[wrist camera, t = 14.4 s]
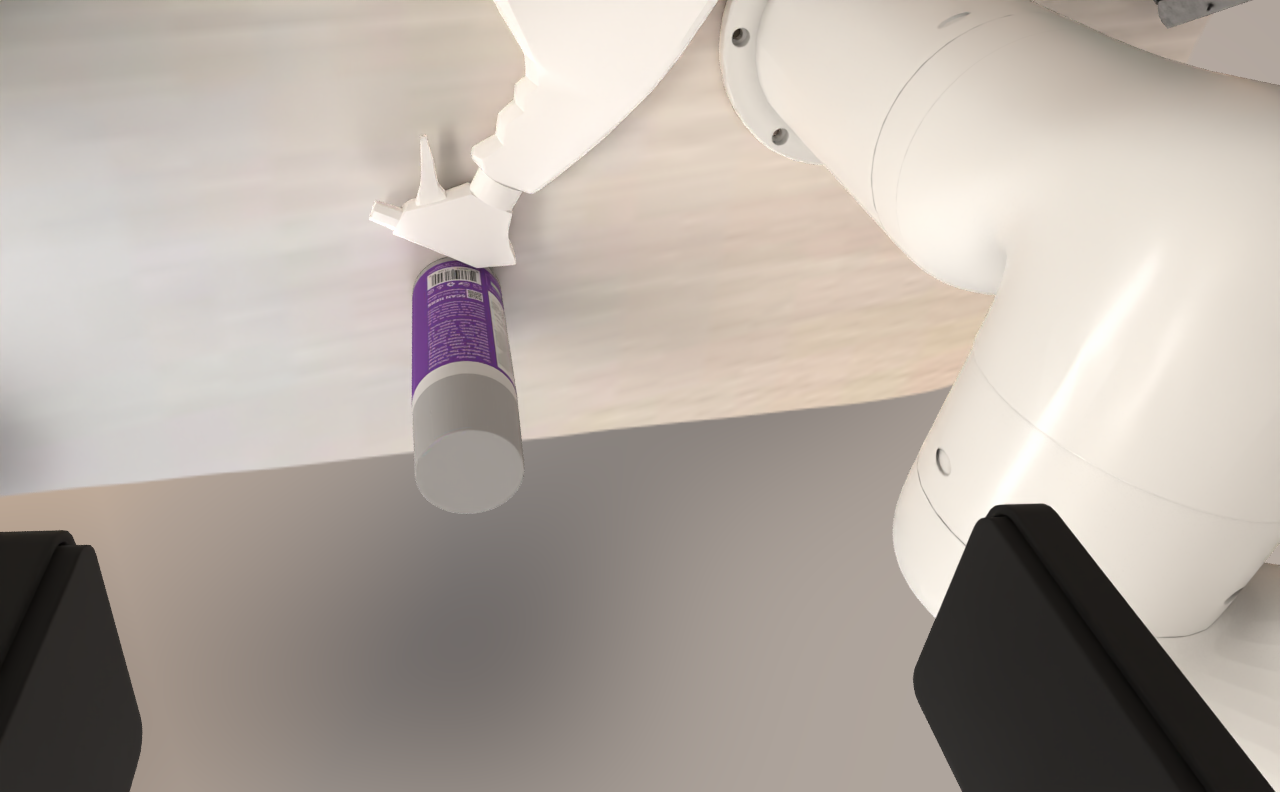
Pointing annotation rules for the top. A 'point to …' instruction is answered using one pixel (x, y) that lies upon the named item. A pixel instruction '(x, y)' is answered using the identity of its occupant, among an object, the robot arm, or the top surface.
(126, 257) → the top surface
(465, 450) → the container
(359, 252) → the top surface
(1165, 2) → the grenade
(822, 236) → the top surface
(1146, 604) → the robot arm
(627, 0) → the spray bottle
